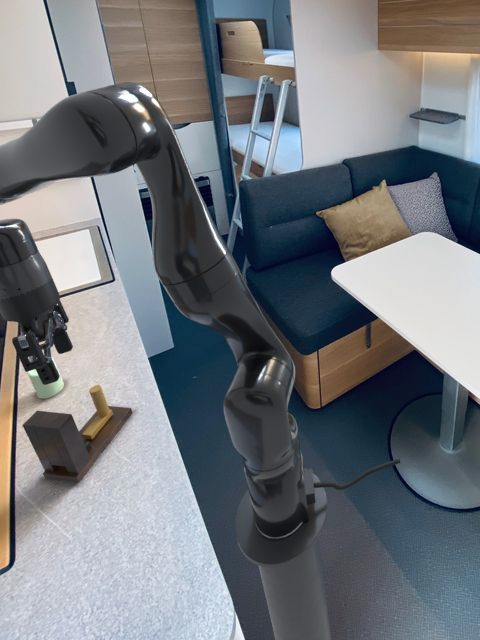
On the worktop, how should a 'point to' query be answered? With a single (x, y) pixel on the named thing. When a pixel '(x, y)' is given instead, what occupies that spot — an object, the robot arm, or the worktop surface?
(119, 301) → the worktop surface
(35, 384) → the candle
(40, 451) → the latch
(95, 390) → the bolt
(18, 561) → the worktop surface
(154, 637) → the worktop surface
